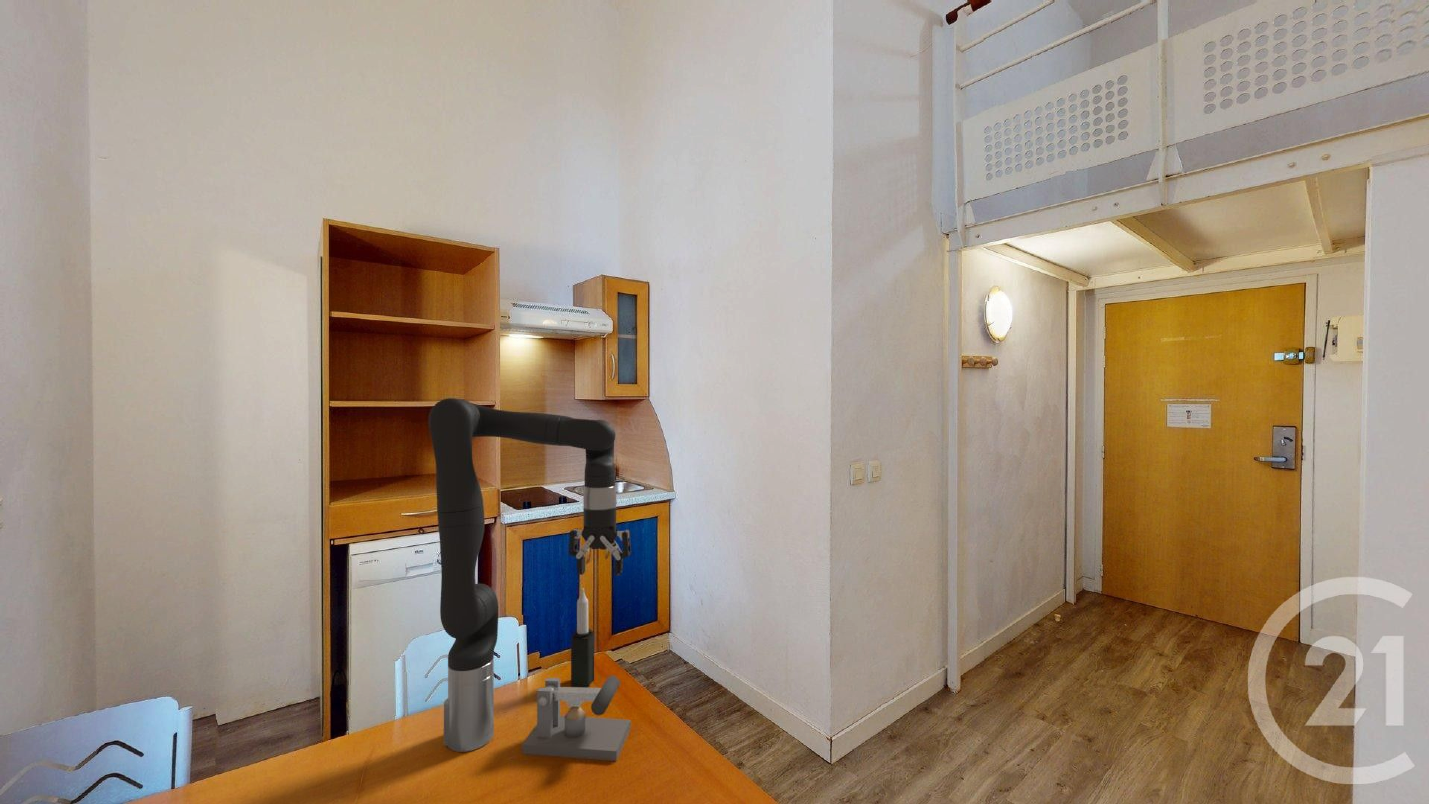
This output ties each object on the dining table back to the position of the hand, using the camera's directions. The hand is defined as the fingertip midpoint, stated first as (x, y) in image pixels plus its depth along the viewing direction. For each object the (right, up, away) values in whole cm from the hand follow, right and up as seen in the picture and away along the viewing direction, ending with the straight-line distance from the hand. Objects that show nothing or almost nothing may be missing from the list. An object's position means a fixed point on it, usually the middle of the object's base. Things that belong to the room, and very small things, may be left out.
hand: (599, 574), depth 126 cm
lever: (-3, -26, -8) cm, 27 cm away
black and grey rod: (-8, -34, +17) cm, 39 cm away
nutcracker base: (-3, -34, -8) cm, 35 cm away
